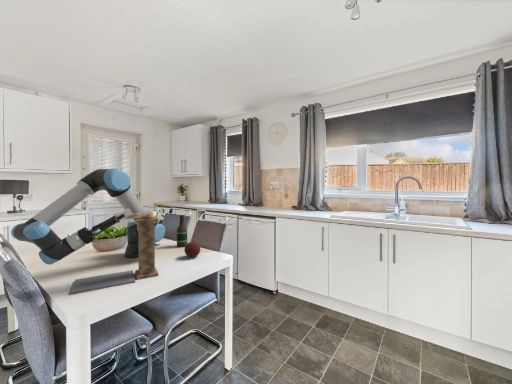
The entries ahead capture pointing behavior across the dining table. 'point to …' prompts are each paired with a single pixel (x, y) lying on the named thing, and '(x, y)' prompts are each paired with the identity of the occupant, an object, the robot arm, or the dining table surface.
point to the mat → (102, 281)
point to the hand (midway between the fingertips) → (130, 210)
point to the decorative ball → (192, 249)
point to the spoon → (142, 215)
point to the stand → (146, 248)
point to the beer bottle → (181, 233)
